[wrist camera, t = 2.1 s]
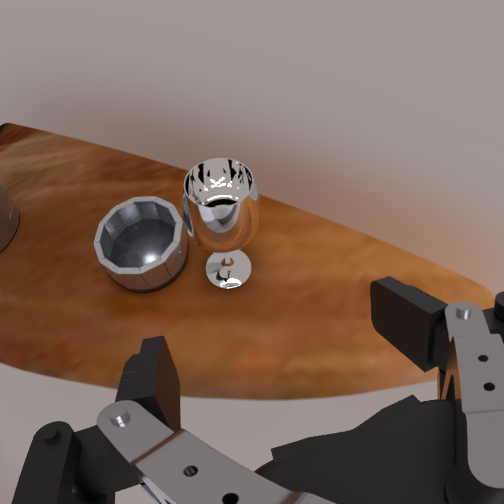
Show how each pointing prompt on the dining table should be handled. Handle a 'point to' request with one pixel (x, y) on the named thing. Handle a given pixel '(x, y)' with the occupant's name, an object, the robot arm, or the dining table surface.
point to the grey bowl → (142, 244)
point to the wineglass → (222, 217)
